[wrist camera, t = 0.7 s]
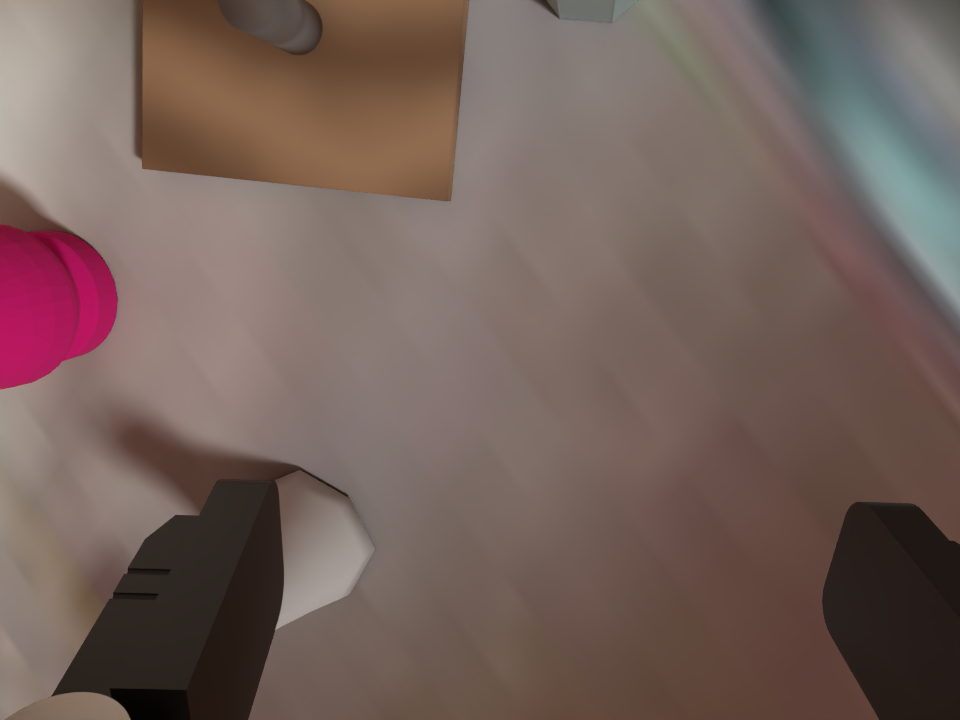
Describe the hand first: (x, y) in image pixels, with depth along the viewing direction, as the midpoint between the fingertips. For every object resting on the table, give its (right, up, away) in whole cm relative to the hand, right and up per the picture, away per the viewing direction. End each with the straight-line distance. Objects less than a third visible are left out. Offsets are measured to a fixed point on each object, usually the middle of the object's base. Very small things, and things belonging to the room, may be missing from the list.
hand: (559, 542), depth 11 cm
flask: (-10, -6, +28) cm, 31 cm away
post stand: (-9, +17, +23) cm, 30 cm away
